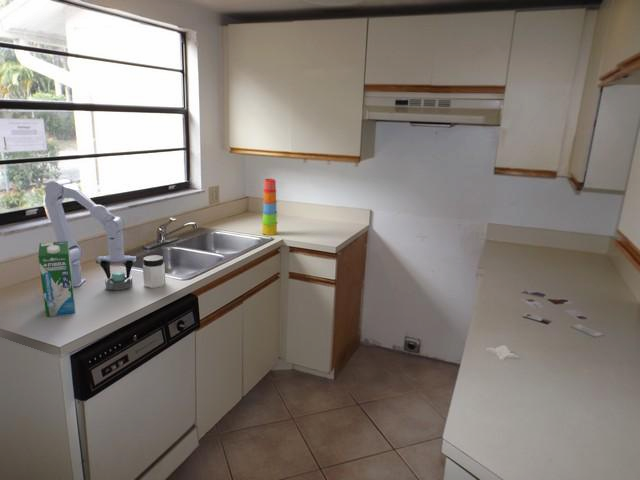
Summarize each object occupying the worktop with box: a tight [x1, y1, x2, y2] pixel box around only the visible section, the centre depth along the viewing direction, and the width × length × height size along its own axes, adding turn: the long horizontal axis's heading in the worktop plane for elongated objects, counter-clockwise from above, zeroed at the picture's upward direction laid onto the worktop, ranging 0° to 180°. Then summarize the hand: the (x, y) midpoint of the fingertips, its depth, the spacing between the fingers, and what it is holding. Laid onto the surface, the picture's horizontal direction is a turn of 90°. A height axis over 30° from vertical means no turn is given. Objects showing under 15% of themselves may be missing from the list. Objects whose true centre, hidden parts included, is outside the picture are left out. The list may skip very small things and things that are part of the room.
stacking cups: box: [261, 178, 279, 236], centre depth 278 cm, size 10×10×35 cm
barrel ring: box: [104, 274, 133, 292], centre depth 188 cm, size 10×10×3 cm
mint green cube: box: [111, 271, 126, 282], centre depth 187 cm, size 5×5×4 cm
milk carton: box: [38, 241, 76, 318], centre depth 161 cm, size 9×9×25 cm
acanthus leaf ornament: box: [486, 345, 519, 361], centre depth 146 cm, size 8×7×2 cm
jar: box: [142, 254, 167, 289], centre depth 190 cm, size 9×8×12 cm
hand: (118, 277), depth 187 cm, fingers open, 7 cm apart
